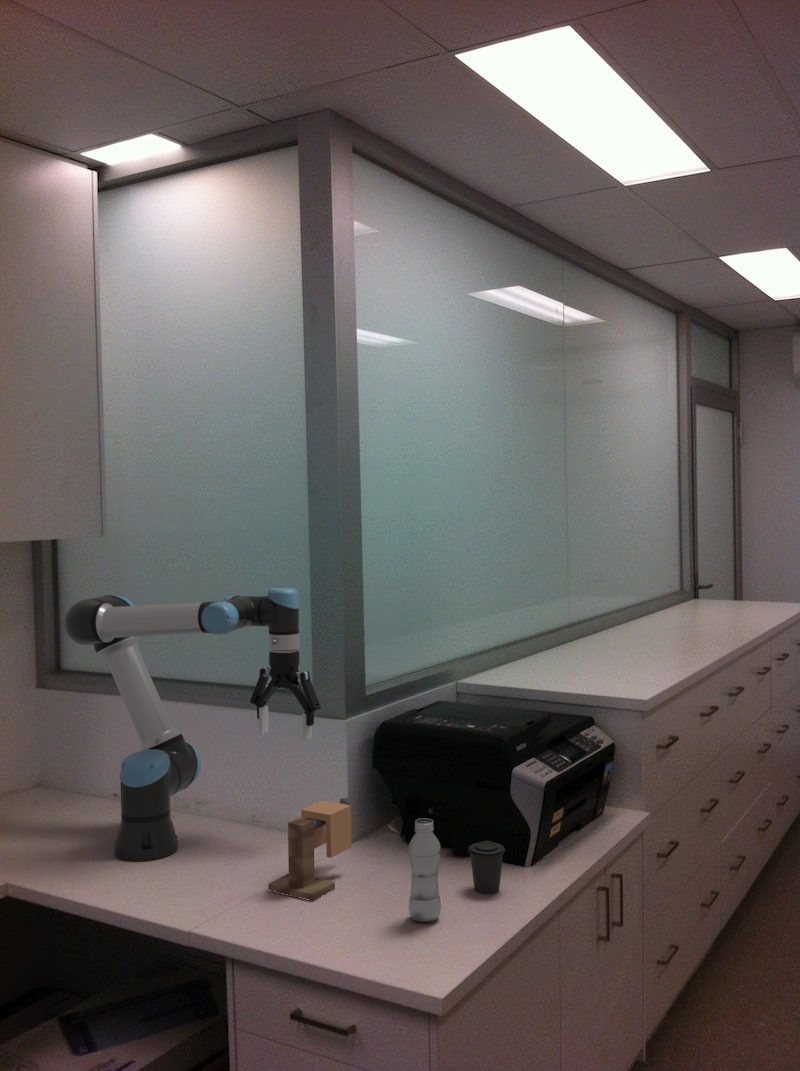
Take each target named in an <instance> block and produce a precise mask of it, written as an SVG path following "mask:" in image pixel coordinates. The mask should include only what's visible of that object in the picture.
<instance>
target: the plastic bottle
mask: <svg viewBox="0 0 800 1071" xmlns="http://www.w3.org/2000/svg"><path fill="white" fill-rule="evenodd" d="M414 824H415V825H414V832H415V834H414V835H413V837H412V838H411V840H410V841H409V844H408V845H409V846H408V853H409V860H410V871H411V885H410V895H409V899H408V900H409V901H408V913H409V916H410V917H411V918H412V920H413V921H416V922H421V923H428V922H429V923H430V922H433V921H435V920H437V919H438V917H439V916H440V914H441V909H442V904H441V897H440V892H439V891H440V889H439V879H438V878H439V863H440V856H441V843H440V840H439V839H438V838H437V836H436V835H435V833H434V831H435V827H434V820H433V819H430V818H425V817H424V818H418V819H416V820H415V821H414Z"/></svg>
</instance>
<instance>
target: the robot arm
mask: <svg viewBox="0 0 800 1071" xmlns="http://www.w3.org/2000/svg"><path fill="white" fill-rule="evenodd" d="M298 593H299V591H298V590H297V589H295V588H293V587H275V588H269V589H268V592H267V595H266V596H265V595H263V596H261V595H258V596H257V595H255V596H254V595H239V594H237V595H229V596H228V595H227V596H226V597H224V598H223V600H214V601H200V602H185V603H184V602H183V603H182V602H180V603H179V602H178V603H165V604H148V605H147V604H146V605H144V604H143V605H135V604H134V603H133V602H132V601H131V600H130V599H129V598H127V597H124V596H121V595H116V594H114V595H113V594H105V595H103V596H99V597H93V598H87V599H82V600H79V601H77V602H75V603H74V604H72V606H70V608H69V609H67V611H66V613H65V616H64V620H63V622H64V630H65V633H66V635H67V636H68V637H69V638H70V640H72V641H73V642H74V643H76V644H79V645H82V646H93V649H94V652H96V655H97V656H100V657H102V658H104V659H105V662H106V663H107V666H108V667H109V670H110V672H111V675H112V677H113V680H114V682H115V685H116V686H117V689H118V691H119V693H120V696H121V698H122V701H123V704H124V706H125V708H126V710H127V712H128V716H130V720H131V721H132V724H133V726H134V729H135V731H136V733H137V735H138V738H139V740H140V743H141V744H140V747H139V750H138V751H135V752H133V753H130V754H128V755H127V756H125V757H124V758H123V759H122V761H121V763H120V772H119V780H120V781H119V782H120V816H121V821H120V825H119V828H118V832H117V836H116V839H115V842H114V848H113V849H114V850H113V851H114V852H113V853H114V855H115V857H116V858H118V859H120V860H125V861H129V862H130V861H132V862H142V861H143V862H145V861H151V860H152V861H153V860H158V859H159V860H160V859H163V858H166V857H168V856H171V855H173V854H175V853H176V852H177V851H178V850H179V837H178V835H177V833H176V830H175V826H174V823H173V821H172V817H171V797H172V796H174V795H176V794H177V793H179V792H182V791H183V790H185V789H187V788H188V787H189V786H191V784H192V783H194V782H195V781H196V779H197V778H198V776H199V774H200V771H201V766H202V759H201V756H200V753H199V750H198V749H197V748H196V747H195V746H194V745H193V744H191V743H190V742H188V741H186V740H185V738H184V736H183V733H182V732H181V731H180V730H177V729H175V728H174V727H173V724H171V721H170V718H169V716H168V714H167V711H166V709H165V707H164V705H163V703H162V700H161V696H159V692H158V690H157V689H156V688H157V687H156V686H155V684H154V682H153V679H152V677H151V675H150V672H149V670H148V668H147V664H146V662H145V661H144V658H143V656H142V655H143V654H142V653H141V651H140V649H139V647H138V642H139V640H140V637H155V636H156V637H157V636H173V635H174V636H175V635H177V636H178V635H191V634H192V635H194V634H195V635H196V634H197V635H198V634H213V635H225V634H228V633H230V632H233V631H236V630H239V629H243V628H246V627H268V649H269V650H270V652H269V653H268V665H269V667H268V666H267V667H263V668H260V669H259V675H258V676H259V678H258V679H257V682H256V684H255V687H254V690H253V691H252V695H251V697H250V700H249V702H250V704H251V705H255V706H256V718H257V720H258V727H259V728H258V729H259V730H258V733H259V734H265V733H268V732H269V705H268V704H267V703H268V702H269V700H270V699H271V697H272V696H273V694H274V693H275V692H276V690H277V689H281V688H282V689H285V690H289V691H290V692H292V693H293V695H294V696H295V698H296V699H297V701H298V703H299V704H300V706H301V708H302V709H303V710H304V712H302V714H301V715H302V716H301V717H302V740H303V741H306V740H309V739H312V737H313V732H312V731H313V729H312V728H313V727H312V726H314V724H315V712H316V711H319V710H321V708H322V706H321V704H320V700H319V699H318V696H317V694H316V691H315V689H314V686H313V683H312V681H311V675H310V674H311V673H310V672H309V670H307V671H300V670H299V666H300V652H299V650H298V649H300V628H299V627H300V621H299V620H300V605H299V594H298ZM269 678H271V679H270V681H269ZM268 681H269V682H268ZM267 683H268V684H267ZM266 686H267V687H266Z"/></svg>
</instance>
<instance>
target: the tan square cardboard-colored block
mask: <svg viewBox="0 0 800 1071" xmlns="http://www.w3.org/2000/svg"><path fill="white" fill-rule="evenodd" d="M300 812H301V816H300V818H303V819H308V820H314V819H316V820H322V821H326V824H325V825H323V826H321V827H319V828H317V829H315V830H314V850H315V849H317V848H319V847H321V846H323V845H326V858H330V859H333V858H334V857H335V856H336V857H337V856H338V855H340V854H341V853H343V852H345V851H347V850H349V849H350V848H352V805H351V804H350V805H346V804H340V802H333V801H328V800H320V801H318V802H314V803H313V804H311V805H309V806H306V807H304V808H302V809H301V810H300Z"/></svg>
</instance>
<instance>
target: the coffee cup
mask: <svg viewBox="0 0 800 1071" xmlns="http://www.w3.org/2000/svg"><path fill="white" fill-rule="evenodd" d="M468 851H469V852H470V856H469V857H470V861H471V870H472V878H473V879H472V880H473V887H474V892H475V893H477V894H479V895H483V896H484V895H485V896H488V895H490V896H492V895H496V894H497V893H499V892H500V885H501V878H502V877H501V876H502V867H503V866H502V865H503V856H504V853H505V852H506V849H505V847H504V846H503V845H502V844H500V843H497V842H493V841H490V840H484V841H479V842H478V843H474V844H472V845H470V846H469V848H468Z"/></svg>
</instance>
